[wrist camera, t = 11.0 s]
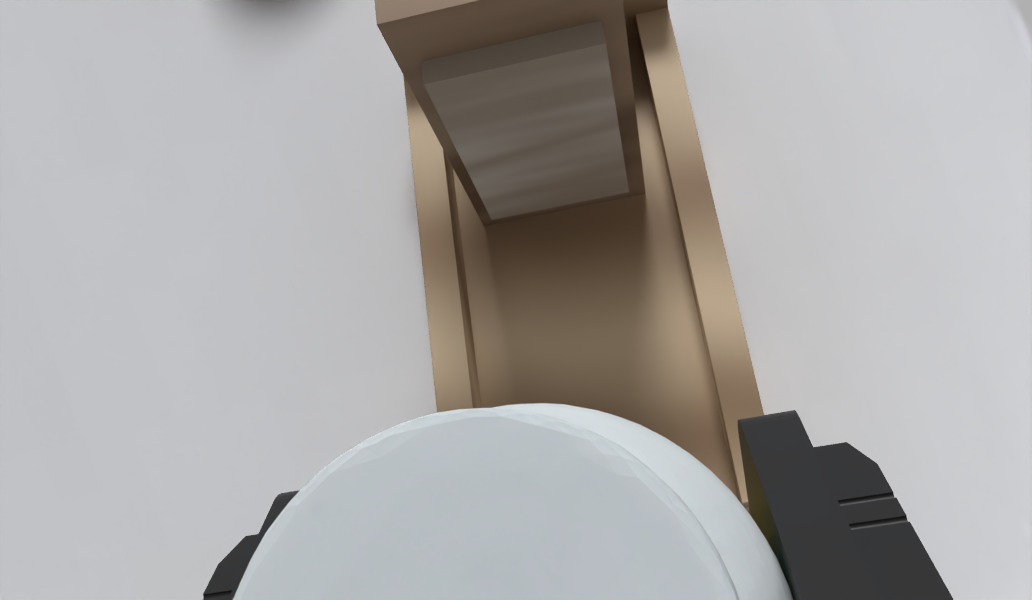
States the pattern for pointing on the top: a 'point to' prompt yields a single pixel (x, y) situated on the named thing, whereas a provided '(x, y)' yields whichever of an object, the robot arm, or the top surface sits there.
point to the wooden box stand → (570, 218)
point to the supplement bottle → (515, 517)
